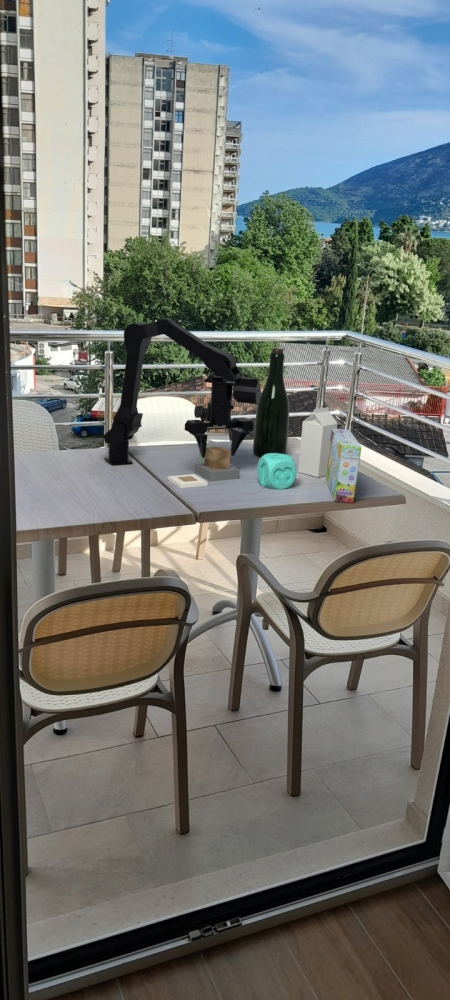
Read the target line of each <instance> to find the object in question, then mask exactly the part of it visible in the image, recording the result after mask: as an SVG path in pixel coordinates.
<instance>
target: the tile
mask: <svg viewBox="0 0 450 1000" xmlns="http://www.w3.org/2000/svg"><path fill="white" fill-rule="evenodd" d="M167 481H168V482H170V483H172V484H173V485H174V486H176V487H178V488H179V489H187V488H196V487H197V488H198V487H206V486H209V483H208V480H206V479H205V478H203V477H201V476H200V475H198V474H196V473H192V474H180V475H169V476H167Z"/></svg>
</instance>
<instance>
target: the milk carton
mask: <svg viewBox="0 0 450 1000" xmlns="http://www.w3.org/2000/svg"><path fill="white" fill-rule="evenodd" d="M329 410H330V407H329V406H327V407H322V408H320V407H319V408H314V409H313V412H311V413H310V414H309V416H308V417H306V418H305V419H304V420H303V421H302V428H301V437H300V438H301V439H300V446H299V447H300V449H299V450H300V451H299V461H298V468H297V469H298V471H297V473H300V474H304V475H307V476H311V477H315V478H321V477H326V473H327V465H328V457H329V449H330V440H331V431H332V429H338V421H336V419H335V418H334V417H333V414H331V412H330V411H329Z"/></svg>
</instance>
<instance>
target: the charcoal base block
mask: <svg viewBox="0 0 450 1000" xmlns="http://www.w3.org/2000/svg"><path fill="white" fill-rule="evenodd" d="M194 474H195V475H197V476H199V477H200V478H202V479H204V480H206V481H207V482H208V481H209V482H219V481H220V482H221V481H232V480H239V479H240V469H239V468H237V467H235V466H233V465H231V464H230V465H229V469H218V470H213V469H211V468H209V467H207V466H205V463H204V464H200V463H196V464H195V470H194Z"/></svg>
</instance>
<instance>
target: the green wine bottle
mask: <svg viewBox="0 0 450 1000" xmlns="http://www.w3.org/2000/svg"><path fill="white" fill-rule="evenodd" d="M285 358H286V357H285V353H284V349H283V348H280V347H279V348H278V347H275V348H274V347H273V348H272V349H271V352H270V354H269V367H268V373H267V378H266V381H265V383H264V386H263V389H261V397H260V401H259V403H258V404H256V413H255V421H254V431H253V445H252V453H253V455H254V456H256V457H259V458H261V457H262V456H263V455H265V454H269V453H279V454H285V455H287V451H288V450H287V449H288V435H289V425H290V424H289V421H290V400H289V397H288V393H287V390H286V385H285V380H284V365H285V364H284V362H285Z"/></svg>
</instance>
